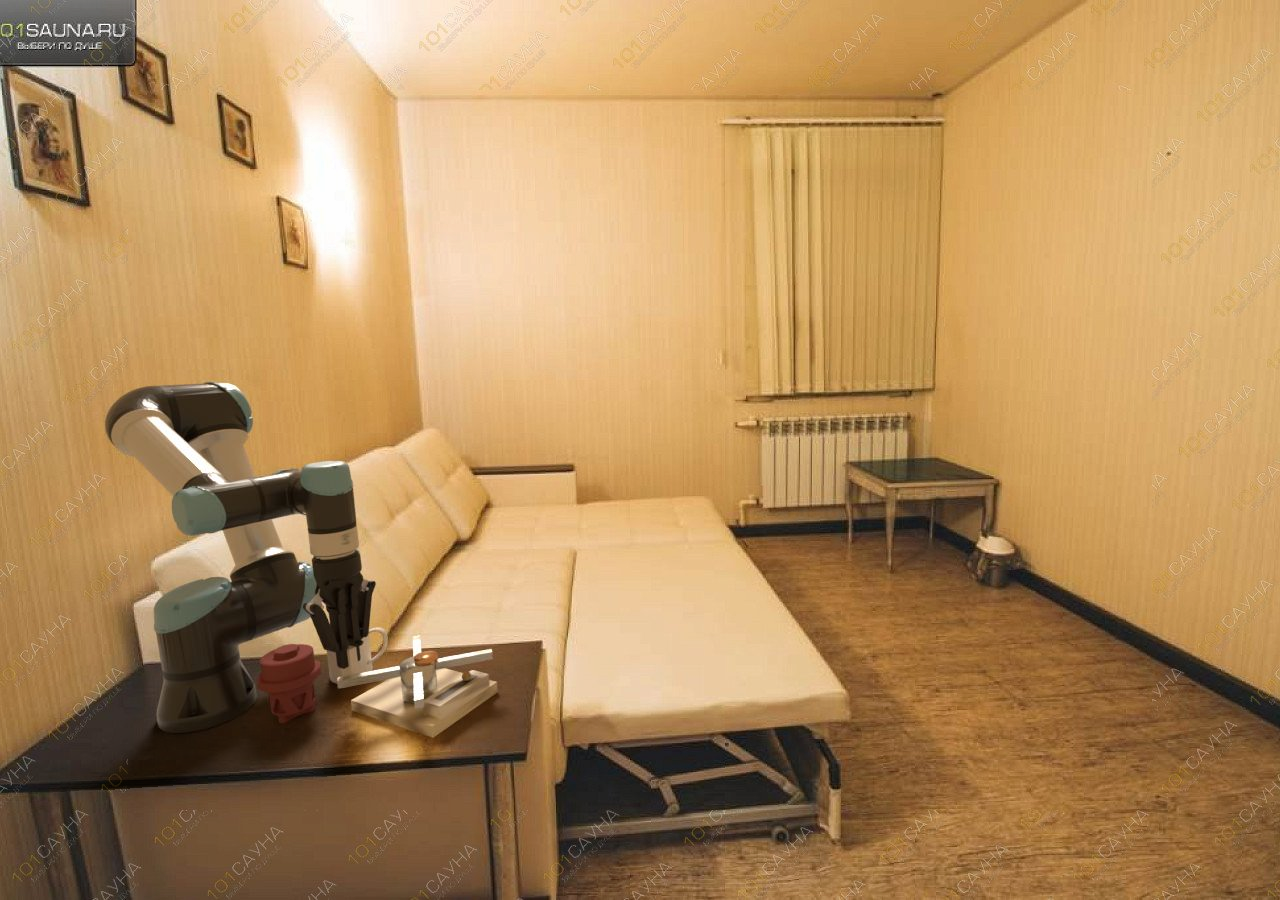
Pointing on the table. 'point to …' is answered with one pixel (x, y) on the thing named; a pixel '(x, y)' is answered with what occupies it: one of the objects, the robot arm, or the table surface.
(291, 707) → the mechanical component
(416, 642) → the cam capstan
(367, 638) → the mug
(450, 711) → the stand
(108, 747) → the table surface
